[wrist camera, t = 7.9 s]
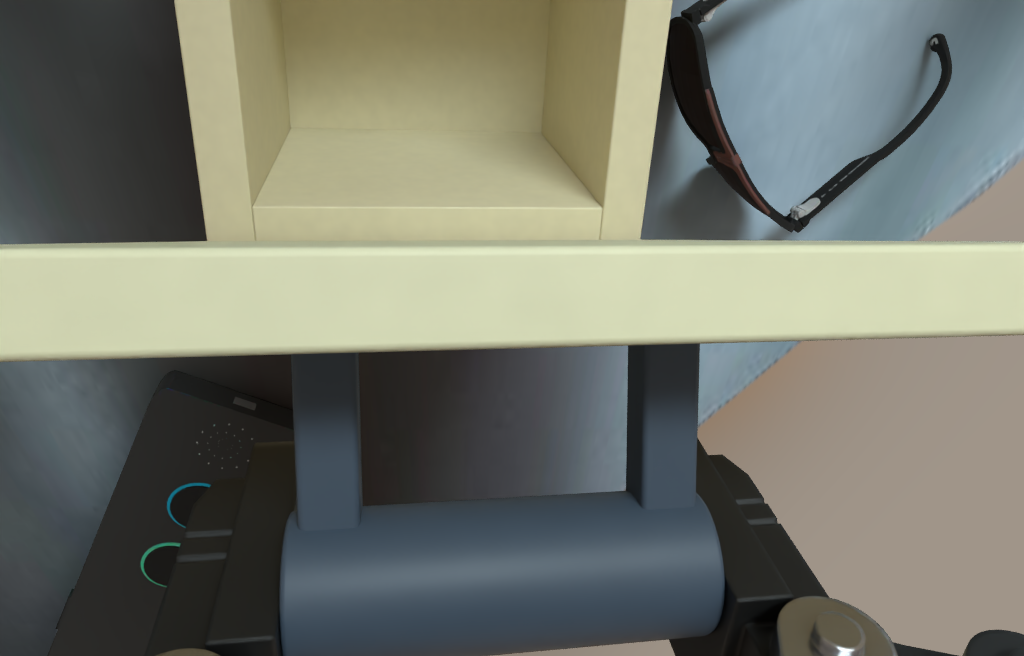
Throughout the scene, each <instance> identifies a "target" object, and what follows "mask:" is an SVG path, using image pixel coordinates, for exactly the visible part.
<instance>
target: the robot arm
mask: <svg viewBox="0 0 1024 656" xmlns="http://www.w3.org/2000/svg"><path fill="white" fill-rule="evenodd" d="M696 493H697V494H698V495H699V496H700V497H701V498H702V500H703V501H704V503H705V504H706V506H707V508H708V510H709V512H710V514H711V517H712V519H713V522H714V524H715V528H716V531H717V534H718V538H719V542H720V547H721V552H722V558H723V566H724V580H725V592H724V604H723V610H722V615H721V618H720V621H719V623H718V625H717V627H716V628H715V630H714V631H713V632H711V633H710V634H708V635H706V636H700V637H689V638H678V639H669V640H670V643H671V646H672V648H673V651H674V653H675V656H957V655H951V654H947V653H941V652H936V651H931V650H926V649H921V648H916V647H910V646H905V645H901V644H897V643H893V642H892V641H891V639H890V637H889V636H888V634H887V633H886V632H885V631H884V629H883V628H882V627H881V626H880V625H879V624H878V623H876V621H874V620H873V619H872V618H871V617H869V616H868V615H867V614H865V613H864V612H862V611H861V610H859V609H857V608H856V607H854V606H851V605H849V604H847V603H845V602H842V601H839V600H836V599H832V598H829V596H828V595H827V594H826V592H825V590H824V589H823V587H822V586H821V584H820V583H819V582H818V580H817V578H816V577H815V575H814V574H813V573H812V571H811V569H810V568H809V566H808V565H807V563H806V562H805V560H804V559H803V557H802V556H801V554H800V553H799V551H798V549H797V548H796V546H795V545H794V543H793V542H792V540H791V539H790V537H789V536H788V534H787V533H786V531H785V530H784V528H783V527H782V525H781V524H778V523H777V518H776V516H775V515H774V513H773V512H772V510H771V509H770V507H769V506H768V504H765V503H764V498H763V497H762V495H761V493H759V491H758V489H757V487H756V486H755V484H754V483H753V481H752V480H751V478H750V477H749V475H748V474H747V473H745V472H744V471H743V470H741V469H740V468H739V467H737V466H736V465H735V464H734V463H732V462H731V461H730V460H728V459H727V458H726V457H725V456H723V455H707V453H706V451H705V450H704V448H703V446H702V445H701V443H700V441H699V440H698V438H697V463H696ZM295 510H297V501H296V475H295V448H294V441H284V442H262V443H255V444H254V446H253V449H252V453H251V457H250V461H249V465H248V470H247V474H246V478H236V479H217V480H216V481H215V482H214V483H213V484H212V485H211V486H210V487H209V488H208V489H207V490H206V491H205V493H204V494H203V495H202V496H201V497H200V498H199V499H198V500H197V501H196V502H195V503H194V504H193V507H192V510H191V513H190V516H189V519H188V522H187V526H186V529H185V532H184V539H182V541H181V544H180V547H179V550H178V553H177V556H176V563H174V566H173V569H172V572H171V575H170V578H169V581H168V584H167V587H166V590H165V593H164V597H163V600H162V603H161V606H160V609H159V612H158V615H157V618H156V621H155V624H154V627H153V631H152V634H151V637H150V640H149V643H148V646H147V649H146V652H145V655H144V656H282V650H281V640H280V625H279V581H280V563H281V552H282V543H283V536H284V531H285V526H286V523H287V520H288V517H289V515H290V513H291V512H293V511H295ZM963 656H1024V635H1023V634H1020V633H1016V632H1011V631H1006V630H988V631H984V632H980V633H978V634H977V635H975V636H974V637H973V638H972V639H971V640H970V642H969V643H968V645H967V647H966V649H965V651H964V654H963Z"/></svg>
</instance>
